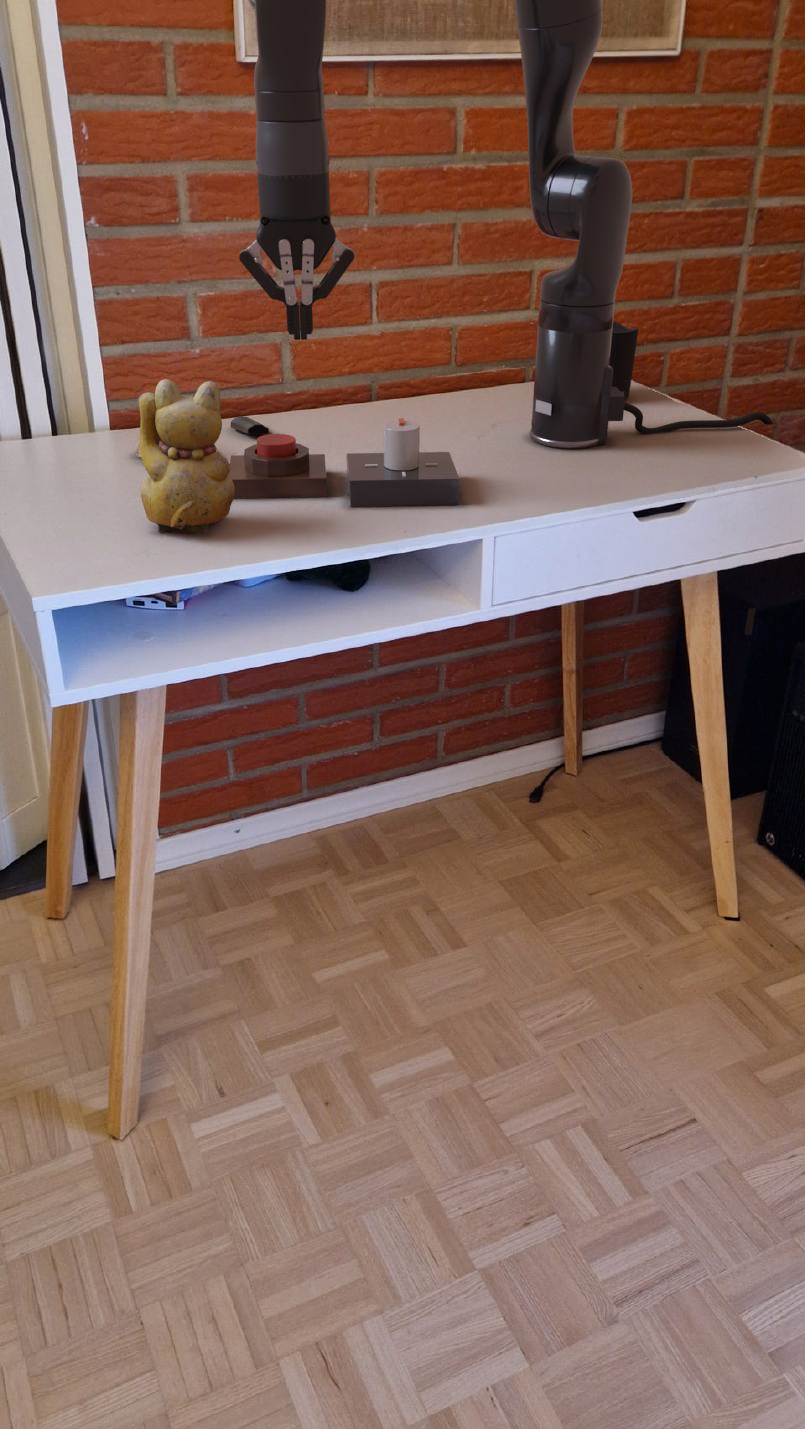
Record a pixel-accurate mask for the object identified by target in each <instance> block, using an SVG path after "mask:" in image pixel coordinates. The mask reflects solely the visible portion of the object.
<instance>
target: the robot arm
mask: <svg viewBox="0 0 805 1429" xmlns="http://www.w3.org/2000/svg"><path fill="white" fill-rule="evenodd" d="M247 1H248V3H249V5H250V6H251V8H252V9H253V11H254V12H255V19H256V36H257V50H258V51H257V52H258V55H257V59H256V62H255V65H254V73H253V75H254V76H253V78H254V80H253V84H254V85H253V86H254V101H255V117H256V118H255V119H256V123H255V124H256V126H255V127H256V128H255V129H256V131H255V164H256V178H257V192H258V210H259V226H258V227H257V230H256V233H255V240H254V241H253V242H252V243H250V245H248V246H247V247H245V248H242V249H241V250H240V251H239V256H238V259H239V262H240V263H241V264H242V266H244V268H245V269H246V270H247V272H248V273H249V274H250V275H251V277H252V278H253V279H254V280H255V281H256V283H258V285H259V286H260V287H261V289H263V291H264V292H265V293H266V294H267V295H268V297H269V298H270V299H271V300H274V301H275V300H276V301H279V302H281V303H283V304H284V305H285V309H286V310H285V311H286V312H285V313H286V327H287V330H286V331H287V333H288V335H291V336H293V341H307V340H308V335H312V334H313V331H314V324H313V323H314V322H313V321H314V319H313V305H314V303H315V302H317V301H319V300H325V299H327V298H328V296H330V294H331V292H332V291H333V290H334V288H335V287H336V285H337V284H338V282H339V281H340V279H341V278H342V277H343V276H344V274H345V272H346V271H347V270H348V268H349V267H350V265H351V264H352V262H354V260H355V252H354V249H353V248H352V247H351V246H347V245H345V244H344V243H343V242H341V241H340V240H339V239H338V238H337V233H336V230H335V228H334V226H333V224H332V218H331V217H332V215H331V186H330V183H331V182H330V156H329V141H328V133H327V126H326V120H325V119H326V110H325V109H326V108H325V86H324V75H323V59H324V58H323V56H324V47H325V37H326V36H325V35H326V34H325V33H326V21H327V0H247ZM513 5H514V12H515V21H516V22H515V23H516V31H517V36H518V42H519V48H520V56H521V57H520V58H521V66H522V76H523V86H524V96H525V108H526V121H527V122H526V123H527V151H528V152H527V153H528V154H527V156H528V184H529V200H530V207H531V213H532V217H533V220H534V223H535V225H536V226H537V229H538V230H539V231H540V232H541V233H542V234H543V235H544V236H547V237H550V238H552V239H553V238H554V239H561V240H567V241H576V242H578V244H577V249H576V254H575V258H574V260H573V261H572V262H571V263H570V264H568V265H566V266H564V267H562V268H559V269H555V270H552V271H548V272H547V273H545V274H544V275H543V276H542V278H541V280H540V286H539V300H538V301H539V302H538V317H537V333H536V334H537V335H536V347H535V348H536V349H535V363H534V364H535V365H534V381H533V395H532V411H531V412H532V413H531V421H530V422H531V424H530V425H531V426H530V427H531V428H530V429H529V430H530V431H529V432H530V433H529V437H530V439H531V440H532V441H533V442H535V443H538V444H540V445H543V446H547V447H553V448H560V449H582V448H590V447H594V446H598V445H607V440H608V432H609V431H608V430H609V422H623V421H624V412H628V413H631V414H632V415H633V416H634V417H635V421H634V428H635V430H636V431H637V432H638V433H639V434H641V435H651V434H652V435H653V434H663V433H668V432H669V433H670V432H673V431H678V430H683V429H722V428H723V429H724V428H725V429H726V428H736V427H741V426H743V425H746V424H749V423H751V422H753V421H760V422H762V423H763V424H764V425H767V426H770V425H771V426H772V425H774V422H773V420H772V419H771V417H770V416H769V415H767V414H766V413H764V412H760V411H756V412H752V413H749V414H747V415H745V416H742V417H738V418H734V419H715V420H714V419H711V420H709V419H705V420H703V419H702V420H701V419H700V420H697V419H695V420H680V421H675V422H671V423H667V424H663V425H660V426H655V427H647V426H644V425H643V422H644V413H643V412H642V411H641V409H639V408H638V407H637V406H635V405H633V404H631V403H628V402H627V401H626V400H625V396H624V395H623V394H622V393H621V392H620V391H619V390H618V389H617V388H616V387H612V379H613V368H612V367H611V366H610V365H609V362H610V350H611V340H612V329H613V321H614V317H615V305H616V298H617V297H616V296H617V289H618V286H619V282H620V281H621V277H622V273H623V268H624V262H625V255H626V248H627V240H628V233H629V228H630V220H631V213H632V205H633V183H632V182H633V181H632V176H631V173H630V170H629V168H628V167H627V166H628V165H626V164H625V162H623V161H622V160H620V159H618V158H615V157H607V156H591V155H581V154H580V155H578V154H577V152H576V148H575V142H574V124H573V123H574V109H575V103H576V100H577V96H578V93H579V90H580V88H581V85H582V83H583V81H584V78H585V76H586V73H587V71H588V69H589V67H590V65H591V63H592V60H593V58H594V56H595V53H596V51H597V48H598V46H599V45H598V44H599V42H600V40H601V36H602V30H603V25H604V24H603V23H604V12H603V8H604V7H603V0H513ZM331 249H332V253H331V261H332V262H333V263H332V265H331V266H330V268H329V269H328V270H327V272H326V273H325V275H324V276H323V277H322V279H321V281H320V282H319V283H318V284H317V285H315V286H314V271H315V270H316V269H318V268H319V267H320V266H321V264H322V262H323V261H324V260H325V258H326V257H327V255H328V253H329V252H330V250H331ZM261 250H263V252H264V253H265V255H266V256H267V257H268V259H269V260H270V261H271V263H272V264H273V265H274V267H275V268H276V269H278V270H279V271H281V274H282V281H283V282H282V283H283V286H280V285H279V284H278V283H277V282H276V281H275V280H274V278H273V277H272V275H271V274H270V273H269V272H268V270H266V268H265V267H264V266H263V265H262V263H263V260H264V258H263V254H262V252H261ZM295 271H301V285H300V286H301V288H300V290H301V291H300V301H298V294H297V286H296V277H295V276H296V275H295ZM755 614H756V607H753V608H751V607H748V610H747V615H746V623H745V629H744V634H745V635H746V636H751V635H753V634H752V633H753V627H754V620H755Z"/></svg>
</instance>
